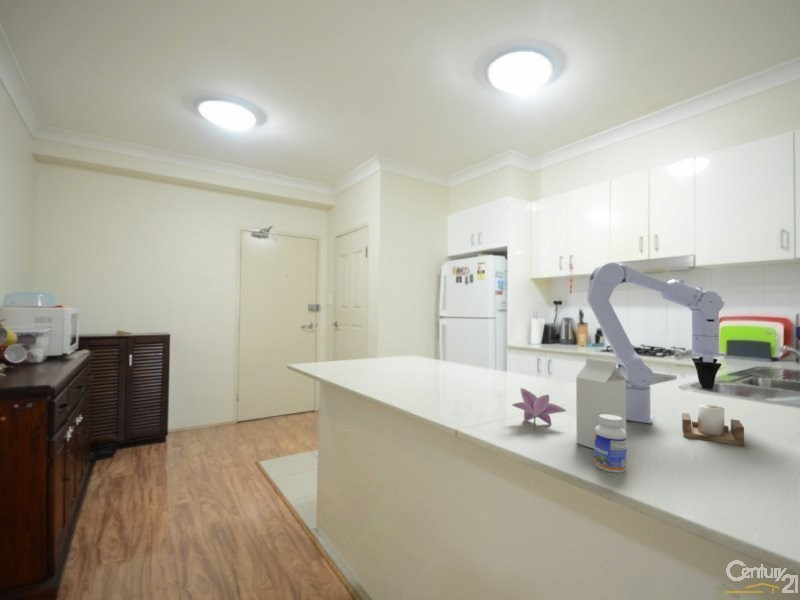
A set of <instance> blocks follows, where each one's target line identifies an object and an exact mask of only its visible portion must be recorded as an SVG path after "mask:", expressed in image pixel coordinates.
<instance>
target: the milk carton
mask: <svg viewBox="0 0 800 600" xmlns="http://www.w3.org/2000/svg"><path fill="white" fill-rule="evenodd" d="M585 360H586V362H585V364H584V366H583V367H582V369H580V371H579V373H578V374H577V375H576V382H575V383H576V392H575V393H576V444H579V445H580V446H584V447H587V448H590V449H593V450H595V427H596V426H598V425H600V423H599V415H601V414H610V415H616V416H619V417H621V418H622V420H623V425H622V426H621V428H622V429H624V430H625V432H626V433H627V420H626V379H625V378H624V377H623V375H622V374H621V373H620V372H619V370H618V367H617V363H616V361H609V360H608V361H607V360H600V359H594V358H593V359H592V358H586V359H585Z"/></svg>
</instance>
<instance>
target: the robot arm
mask: <svg viewBox="0 0 800 600" xmlns="http://www.w3.org/2000/svg"><path fill="white" fill-rule="evenodd" d="M620 284H633V285H636V286H640V287H642V288H646V289H648V290H652V291H655V292H658V293H660V295H661V297H662V299H664V300H666V301H668V302H669V301H670V302H672V303H675V304H677V305H680V306H683V307H686V308H688V309H689V311H691V343H692V344H691V348H692V349H691V350H692V351H691V355H692V356H697V357H698V358H697V357H691V361H692V362H693V364H694V366H695V369H696V374H697V379H698V383H699V384H700V385H701V388H702V389H704V390H713V389H714V385H715V381H716V376H717V374H718V371H719V369H720V368H721V367H722V363H719V362H718V359H717V357H725V356H726V353H725V352H720V311H722V309H723V308H724V305H725V301H723V300H722V297H721V295H719V293H717V292H716V291H710V290H707V291H704V290H703V289H704V288H703V287H701V286H693V285H690V284H687V283H685V280H683V279H680V278H679V279H671V280H668V281H665V280H662V279H660V278H658V277H654V276H653V275H650V274H647V273H645V272H643V271H640V270H639V269H635V268H632V267H631V266H628V265H624V264H619V263H616V262H607V263H605V264H604V265H602V266H598V267H596V268H595V269H594V270H593V271H592V272H591V275H590V276H589V278H588V290H587V297H586V298H587V303H588V305H589V306H590V308H591V311H592V312H593V314H594V317H595V319H596V321H597V323H598V324H599V326H600V328H601V330H602V332H603V334H604V336H605V338H606V340H607V342H608V344H609V346H610V347H611V349H612V352H613V354H614V355H615V362H616V366H617V369H618V370H619V372H620V373H621V374H622V375H623V377H624V378H625V379H626V421H629V422H630V421H631V422H636V423H645V424H650V425H651V424H653V418H654V417H653V415H652V414H651V385H652V384H653V382H654V379H655V377H654V376H655V375H654V372H653V370H652V369H651V368H650V366H648V365H646V364H645V363H644V361H643V359H642V357H640V355H639V354H638V353H637V351H636V350H635V349H634V347H633V345H632V343H631V341H630V339H629V337H628V335H627V333H626V332H625V329H624V327H623V325H622V323H621V321H620V319H619V318H618V316H617V315H618V314H616V312H615V310H614V308H613V305H612V304H611V302H610V298H611V296H612V294H613V292H614V289H616V288H617V287H618V286H619V285H620Z"/></svg>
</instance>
